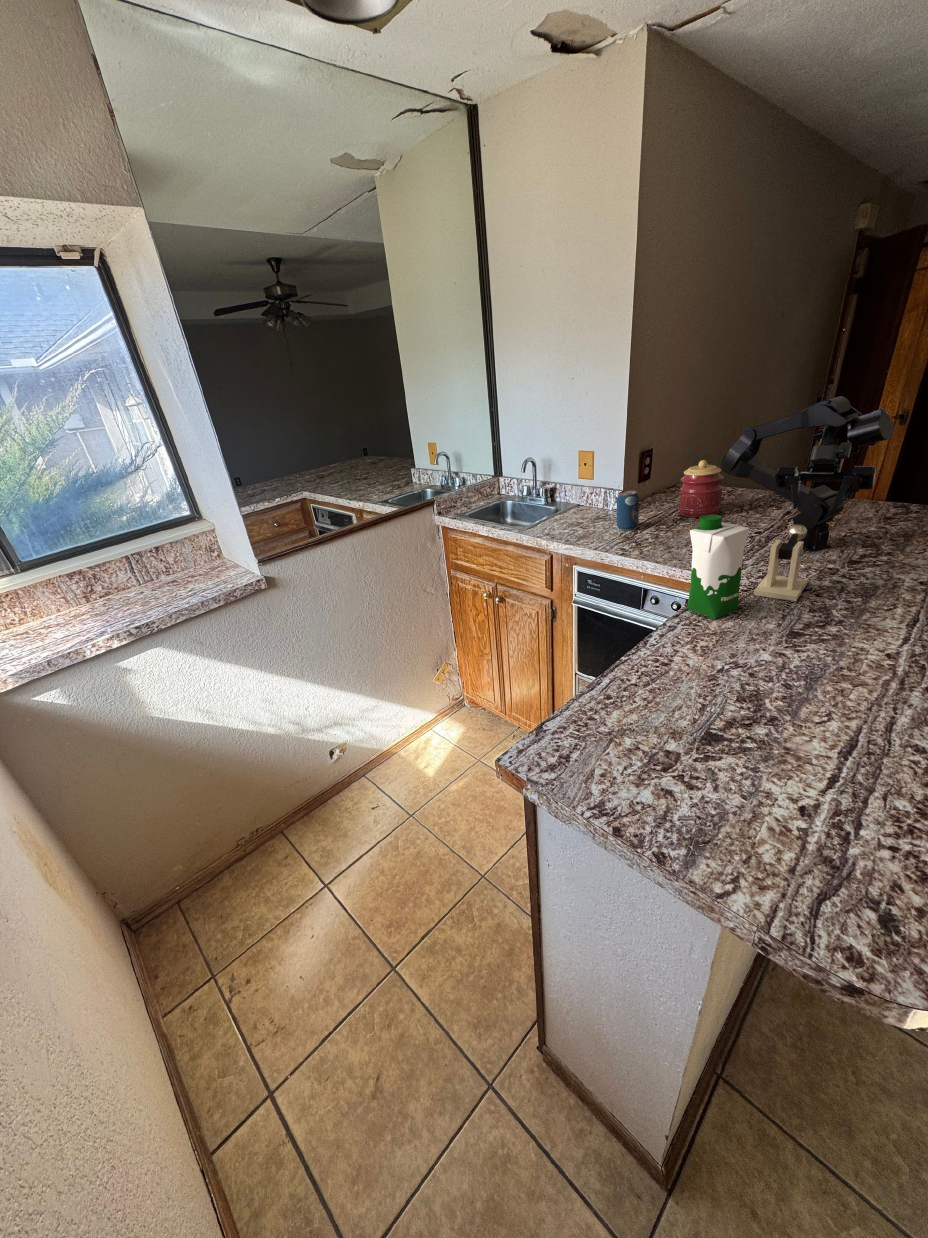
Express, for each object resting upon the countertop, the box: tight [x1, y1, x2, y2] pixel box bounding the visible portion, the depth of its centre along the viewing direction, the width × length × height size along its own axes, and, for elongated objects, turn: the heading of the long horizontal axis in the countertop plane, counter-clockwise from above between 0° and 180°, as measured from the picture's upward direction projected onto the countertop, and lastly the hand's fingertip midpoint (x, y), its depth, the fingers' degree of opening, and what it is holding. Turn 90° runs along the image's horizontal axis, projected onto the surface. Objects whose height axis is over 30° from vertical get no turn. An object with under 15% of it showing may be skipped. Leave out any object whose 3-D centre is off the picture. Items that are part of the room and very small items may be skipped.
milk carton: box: [686, 514, 750, 620], centre depth 99 cm, size 9×9×20 cm
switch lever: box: [778, 524, 807, 561], centre depth 105 cm, size 12×4×4 cm, turn 138°
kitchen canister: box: [678, 459, 725, 518], centre depth 162 cm, size 13×13×18 cm
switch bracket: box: [753, 539, 808, 602], centre depth 104 cm, size 10×8×11 cm
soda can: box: [616, 490, 640, 532], centre depth 159 cm, size 7×7×12 cm
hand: (813, 509), depth 111 cm, fingers open, 7 cm apart
